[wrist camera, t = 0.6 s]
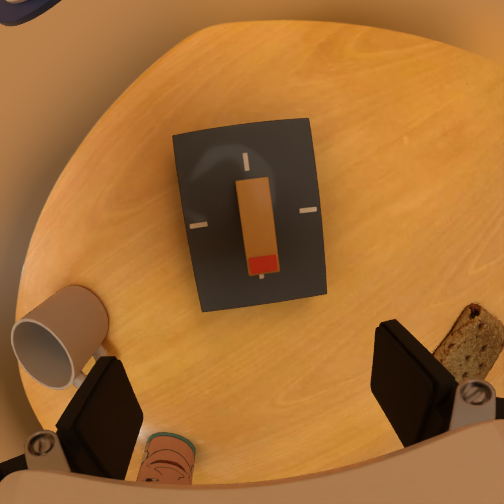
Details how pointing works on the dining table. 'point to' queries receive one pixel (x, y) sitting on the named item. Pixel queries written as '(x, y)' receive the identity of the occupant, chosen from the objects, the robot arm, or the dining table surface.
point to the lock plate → (228, 215)
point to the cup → (61, 337)
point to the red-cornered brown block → (258, 225)
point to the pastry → (472, 345)
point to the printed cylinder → (167, 460)
